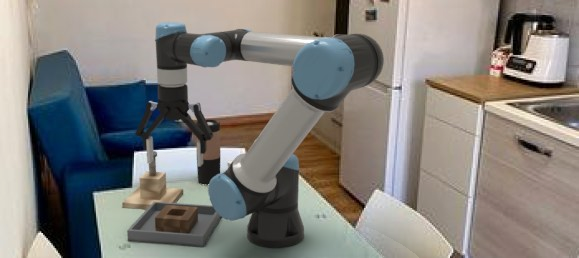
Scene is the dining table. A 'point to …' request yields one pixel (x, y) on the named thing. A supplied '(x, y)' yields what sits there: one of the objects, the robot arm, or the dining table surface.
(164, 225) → the collar
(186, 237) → the tray
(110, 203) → the dining table surface
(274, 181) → the robot arm
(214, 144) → the travel mug
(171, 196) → the stake stand
